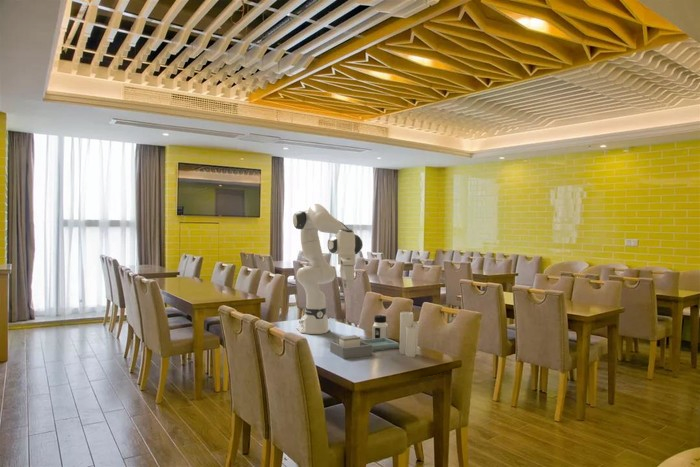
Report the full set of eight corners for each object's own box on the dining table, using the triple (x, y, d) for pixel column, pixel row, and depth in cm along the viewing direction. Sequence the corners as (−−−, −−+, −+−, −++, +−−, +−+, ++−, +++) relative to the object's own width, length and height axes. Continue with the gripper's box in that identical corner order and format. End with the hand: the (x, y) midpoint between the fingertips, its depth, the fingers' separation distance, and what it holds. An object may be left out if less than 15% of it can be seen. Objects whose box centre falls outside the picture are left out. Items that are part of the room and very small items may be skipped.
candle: (396, 351, 247) (397, 312, 247) (408, 350, 250) (409, 311, 250) (409, 357, 237) (410, 316, 237) (421, 356, 240) (422, 315, 240)
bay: (330, 351, 246) (330, 341, 245) (357, 348, 253) (357, 338, 253) (343, 359, 233) (343, 348, 232) (371, 355, 240) (371, 345, 240)
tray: (355, 345, 259) (355, 340, 259) (384, 341, 268) (384, 337, 268) (368, 351, 247) (369, 346, 247) (398, 347, 255) (399, 343, 255)
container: (385, 340, 271) (386, 317, 271) (372, 339, 273) (372, 316, 272) (387, 337, 279) (388, 314, 278) (374, 336, 280) (374, 313, 280)
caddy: (339, 352, 244) (339, 336, 244) (355, 350, 248) (355, 335, 248) (343, 355, 240) (343, 338, 239) (359, 353, 244) (360, 337, 244)
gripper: (337, 260, 258) (338, 286, 258) (343, 261, 238) (343, 290, 238) (349, 259, 259) (349, 286, 259) (356, 261, 239) (356, 290, 238)
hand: (346, 288), depth 248 cm, fingers open, 8 cm apart
